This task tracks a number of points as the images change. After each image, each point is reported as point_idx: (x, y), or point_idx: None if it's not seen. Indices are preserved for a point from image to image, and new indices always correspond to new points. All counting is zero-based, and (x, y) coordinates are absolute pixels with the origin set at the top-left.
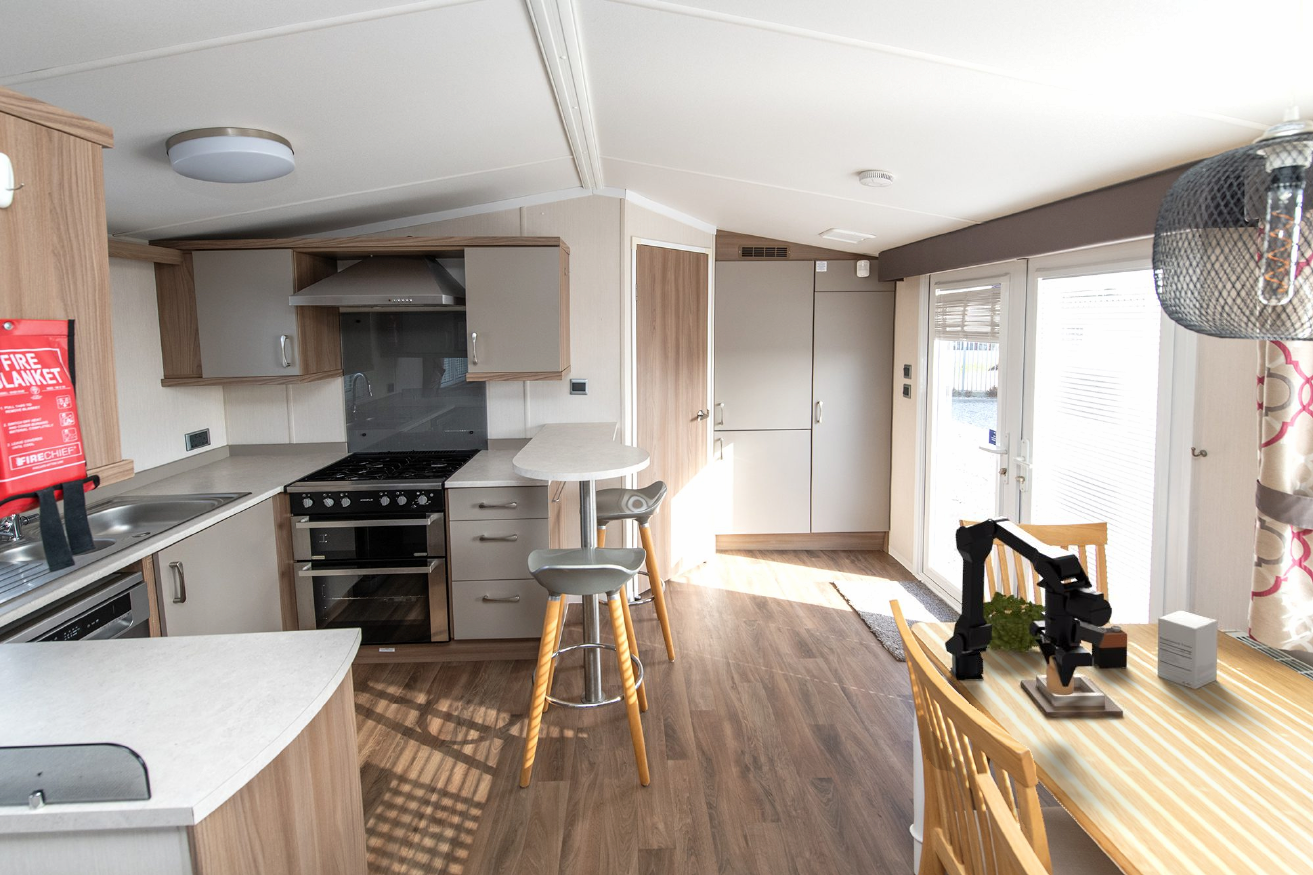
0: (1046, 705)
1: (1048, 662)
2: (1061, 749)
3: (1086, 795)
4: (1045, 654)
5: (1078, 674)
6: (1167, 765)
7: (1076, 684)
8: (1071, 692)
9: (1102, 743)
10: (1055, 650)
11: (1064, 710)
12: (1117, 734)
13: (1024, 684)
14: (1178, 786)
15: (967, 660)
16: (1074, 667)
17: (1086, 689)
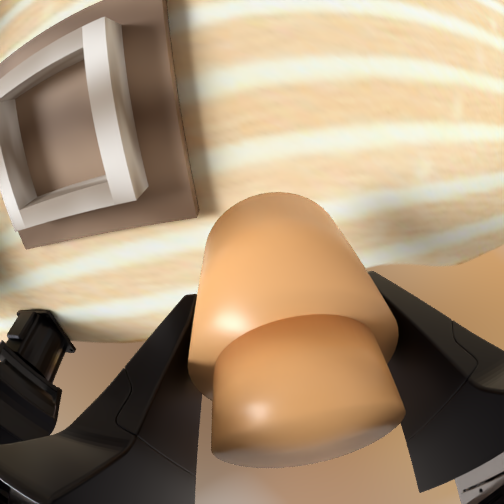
0: (148, 210)
1: (198, 403)
2: (383, 219)
3: (495, 226)
4: (191, 461)
5: None
6: (441, 15)
7: (11, 108)
8: (332, 219)
9: (359, 98)
10: (157, 473)
11: (174, 159)
12: (300, 30)
13: (41, 245)
14: (495, 57)
15: (47, 367)
16: (500, 362)
17: (39, 79)
